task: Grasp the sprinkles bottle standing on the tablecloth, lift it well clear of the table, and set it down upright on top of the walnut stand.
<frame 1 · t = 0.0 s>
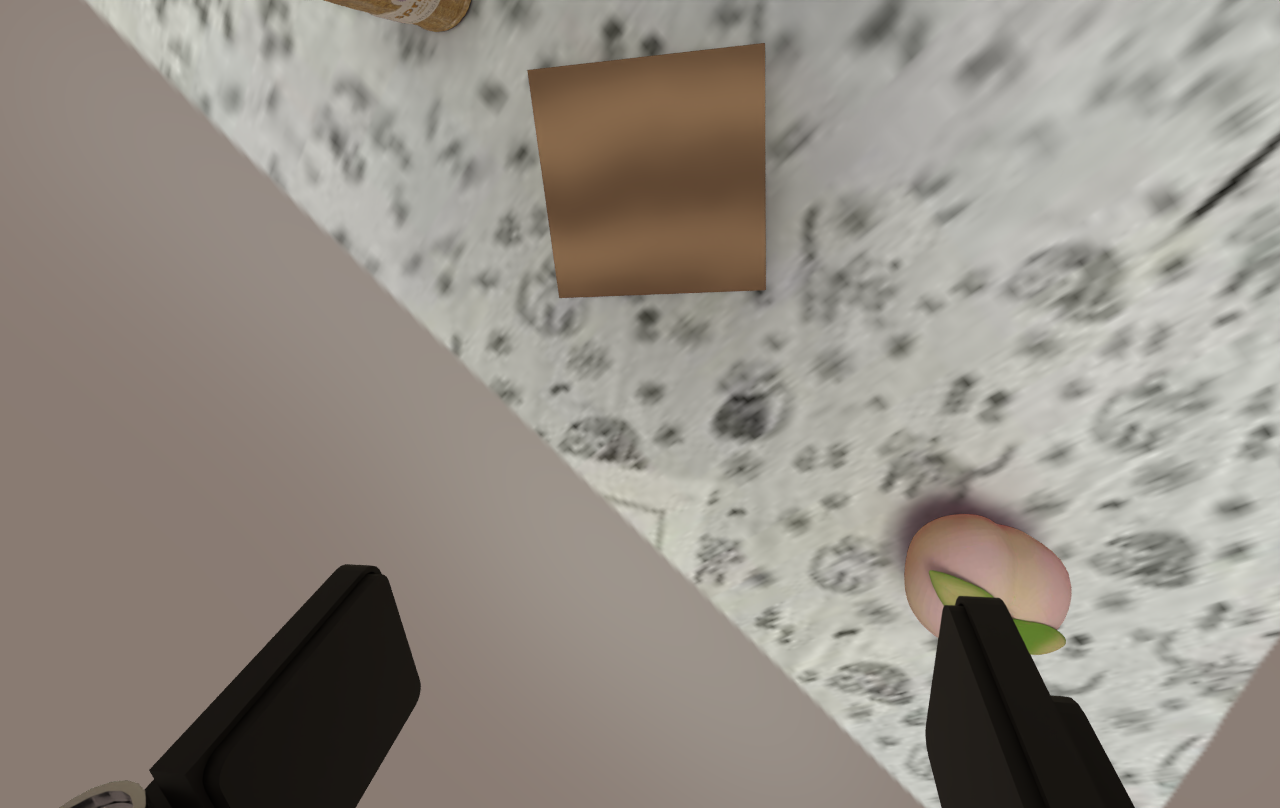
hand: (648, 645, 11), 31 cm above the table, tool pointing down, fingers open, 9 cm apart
decorative fruit: (956, 534, 44), on the table
walnut stand: (661, 177, 37), on the table
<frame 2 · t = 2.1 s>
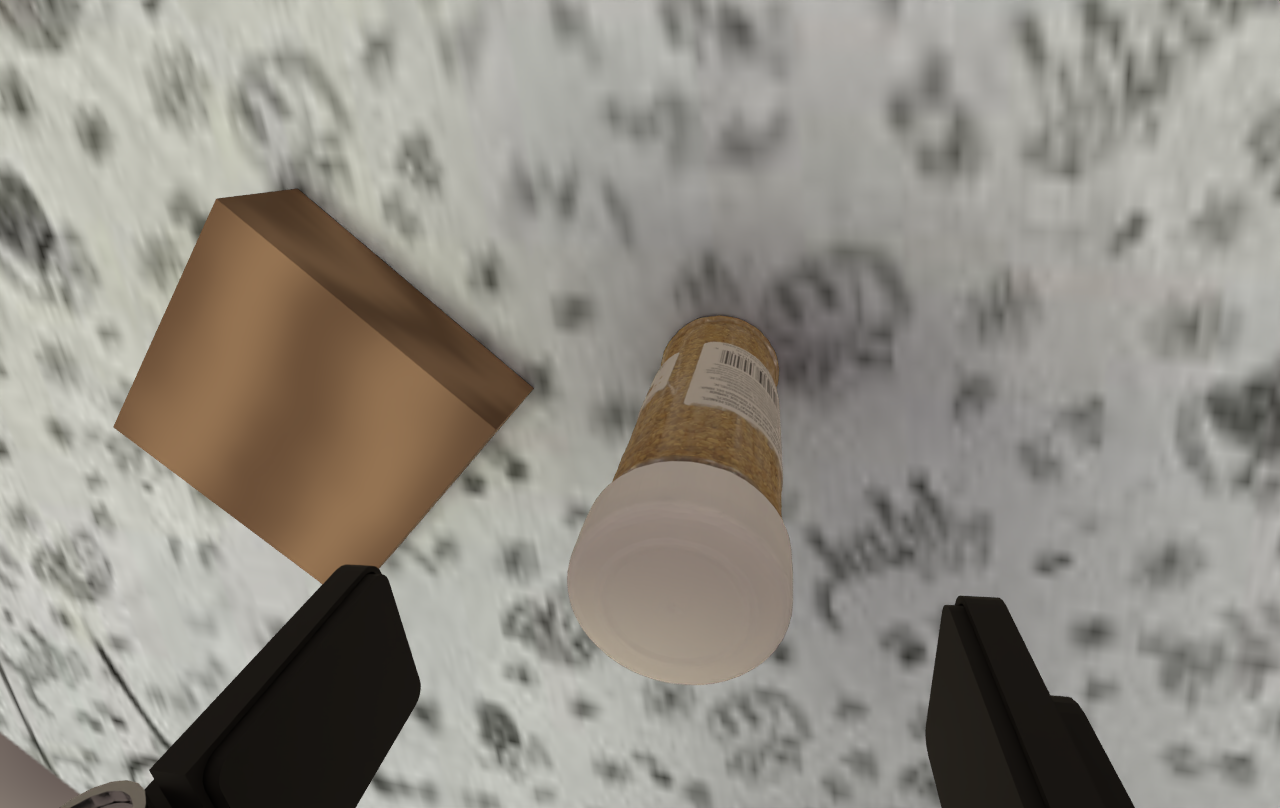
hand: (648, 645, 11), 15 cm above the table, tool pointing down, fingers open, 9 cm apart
walnut stand: (353, 389, 28), on the table
sprinkles bottle: (721, 368, 24), on the table
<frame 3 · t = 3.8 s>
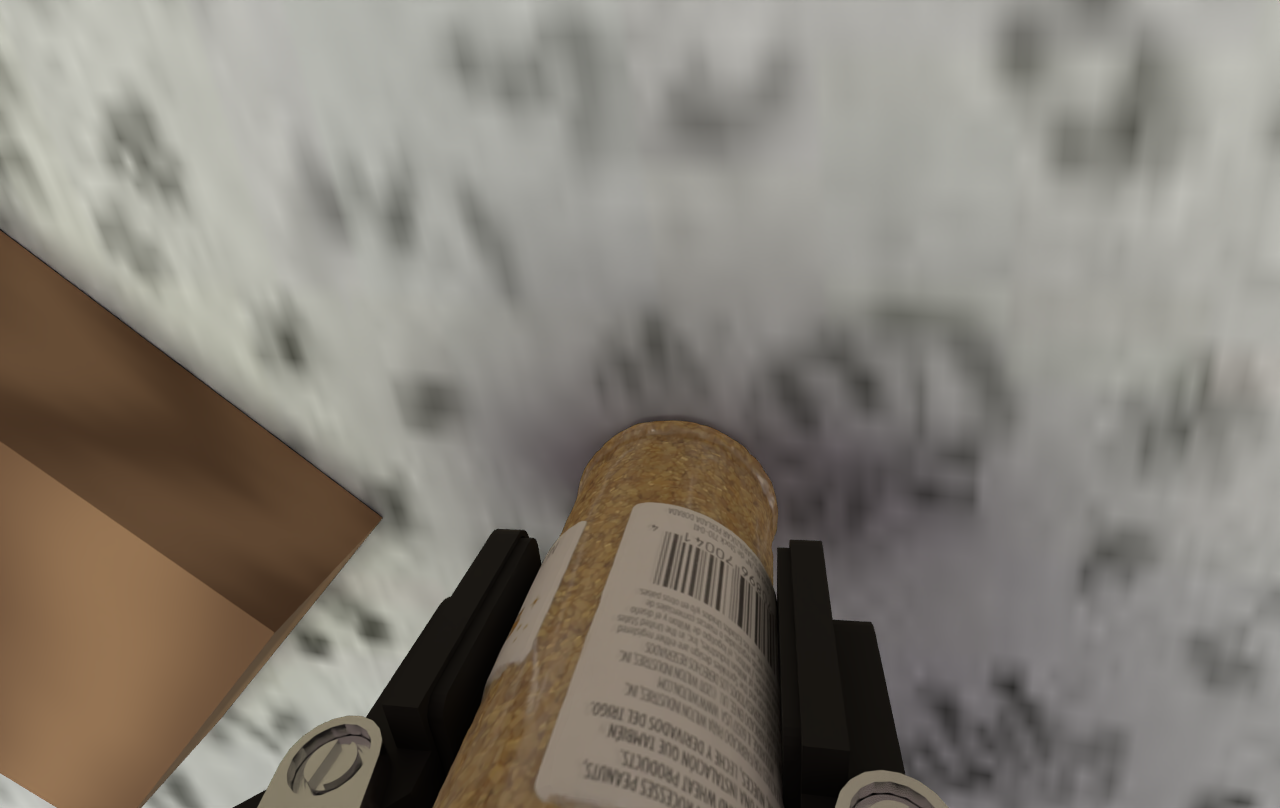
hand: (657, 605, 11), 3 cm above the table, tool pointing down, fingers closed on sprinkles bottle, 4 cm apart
walnut stand: (114, 508, 18), on the table
sprinkles bottle: (681, 497, 15), on the table, touching gripper
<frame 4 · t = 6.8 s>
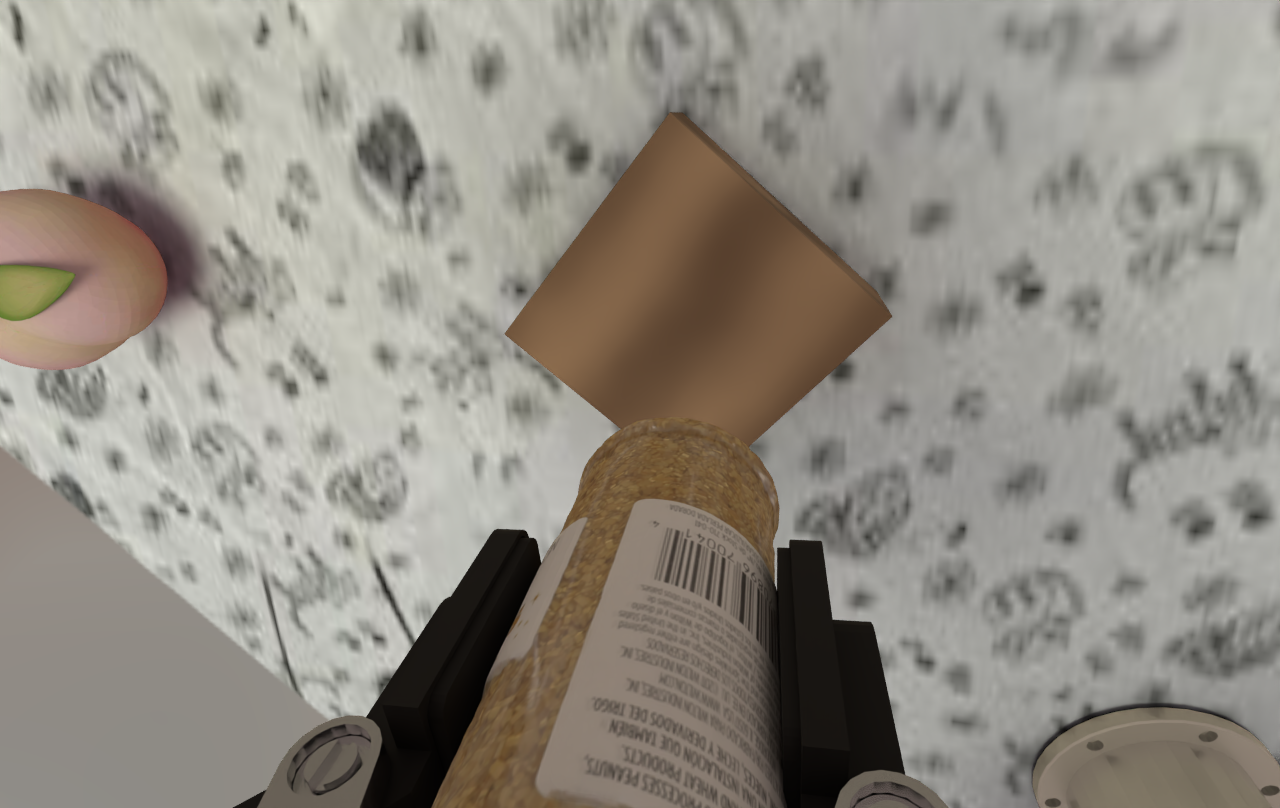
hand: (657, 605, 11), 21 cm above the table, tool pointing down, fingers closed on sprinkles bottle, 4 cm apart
decorative fruit: (147, 256, 36), on the table
walnut stand: (695, 301, 31), on the table
sprinkles bottle: (682, 494, 15), point 18 cm above the table, touching gripper
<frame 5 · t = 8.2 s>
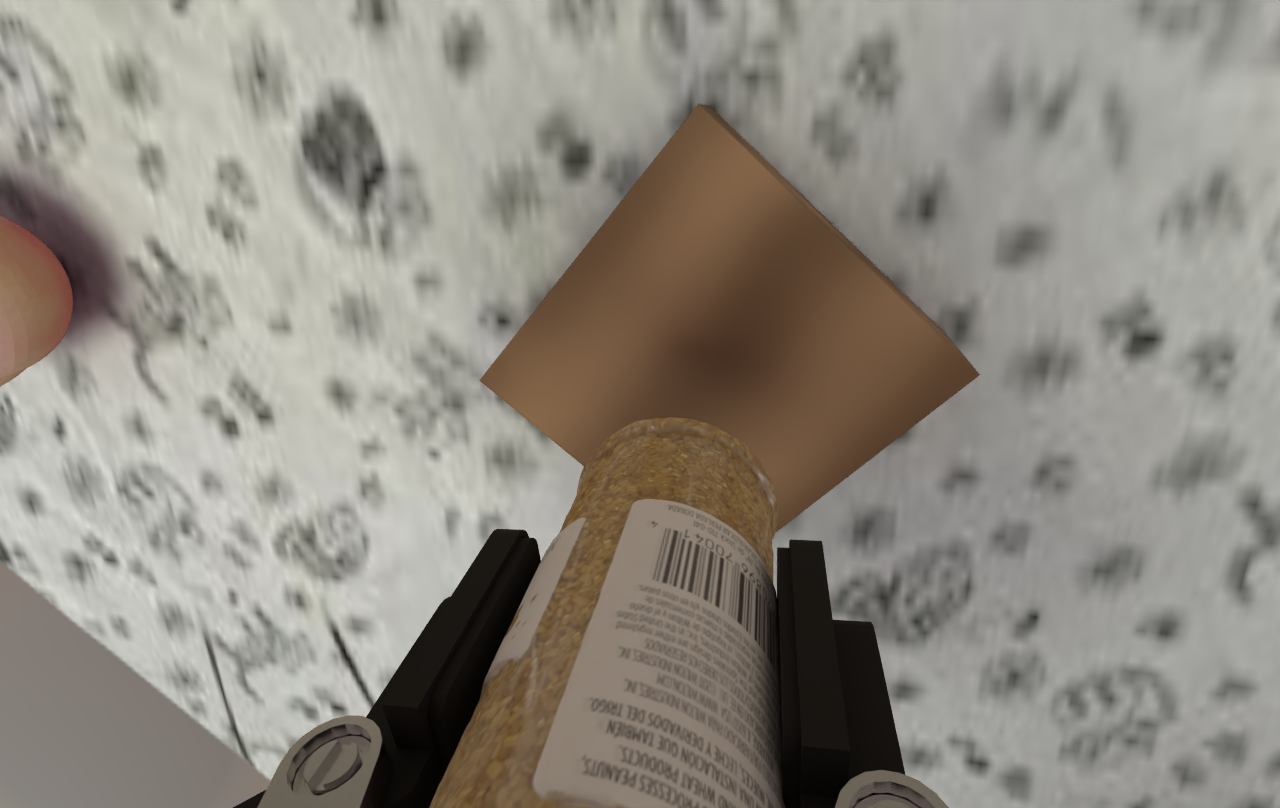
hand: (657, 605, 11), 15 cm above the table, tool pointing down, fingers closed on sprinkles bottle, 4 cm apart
decorative fruit: (54, 268, 30), on the table
walnut stand: (718, 340, 25), on the table
sprinkles bottle: (680, 495, 15), point 12 cm above the table, touching gripper
when the fingers open (9 cm above the table, at t = 9.7 s): sprinkles bottle drops 1 cm, resting on walnut stand.
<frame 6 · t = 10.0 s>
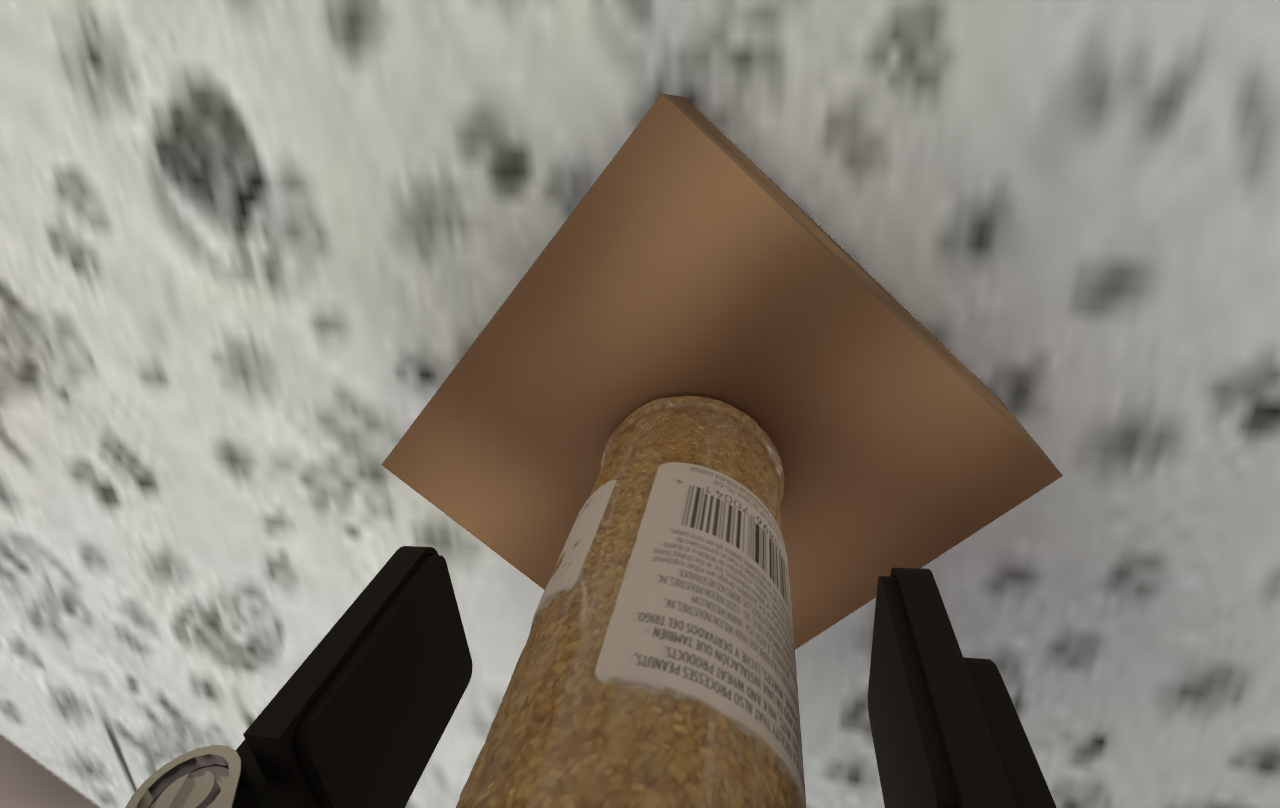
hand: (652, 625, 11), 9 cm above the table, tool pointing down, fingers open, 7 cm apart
walnut stand: (700, 403, 19), on the table
sprinkles bottle: (694, 468, 16), point 4 cm above the table, touching walnut stand
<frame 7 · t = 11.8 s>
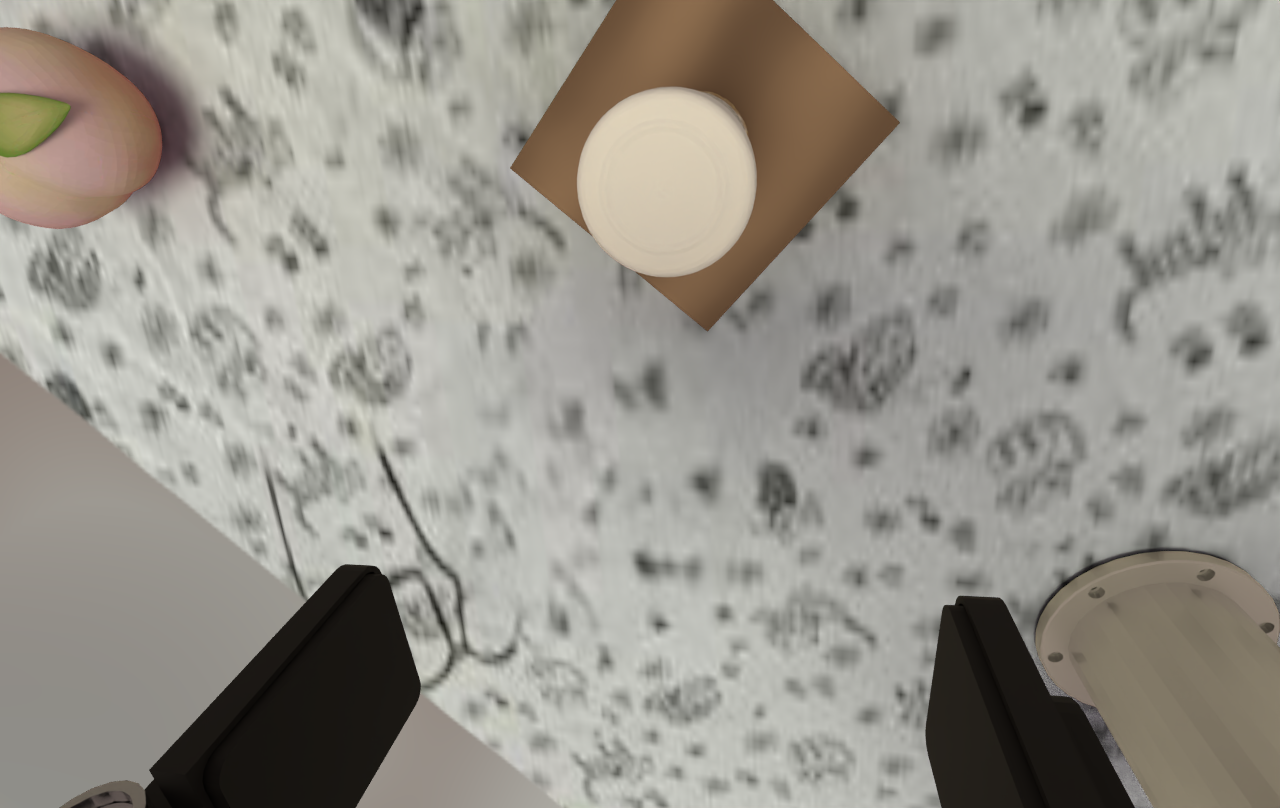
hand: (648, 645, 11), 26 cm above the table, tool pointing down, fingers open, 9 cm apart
decorative fruit: (138, 124, 35), on the table
walnut stand: (699, 141, 31), on the table
sprinkles bottle: (698, 147, 27), point 4 cm above the table, touching walnut stand
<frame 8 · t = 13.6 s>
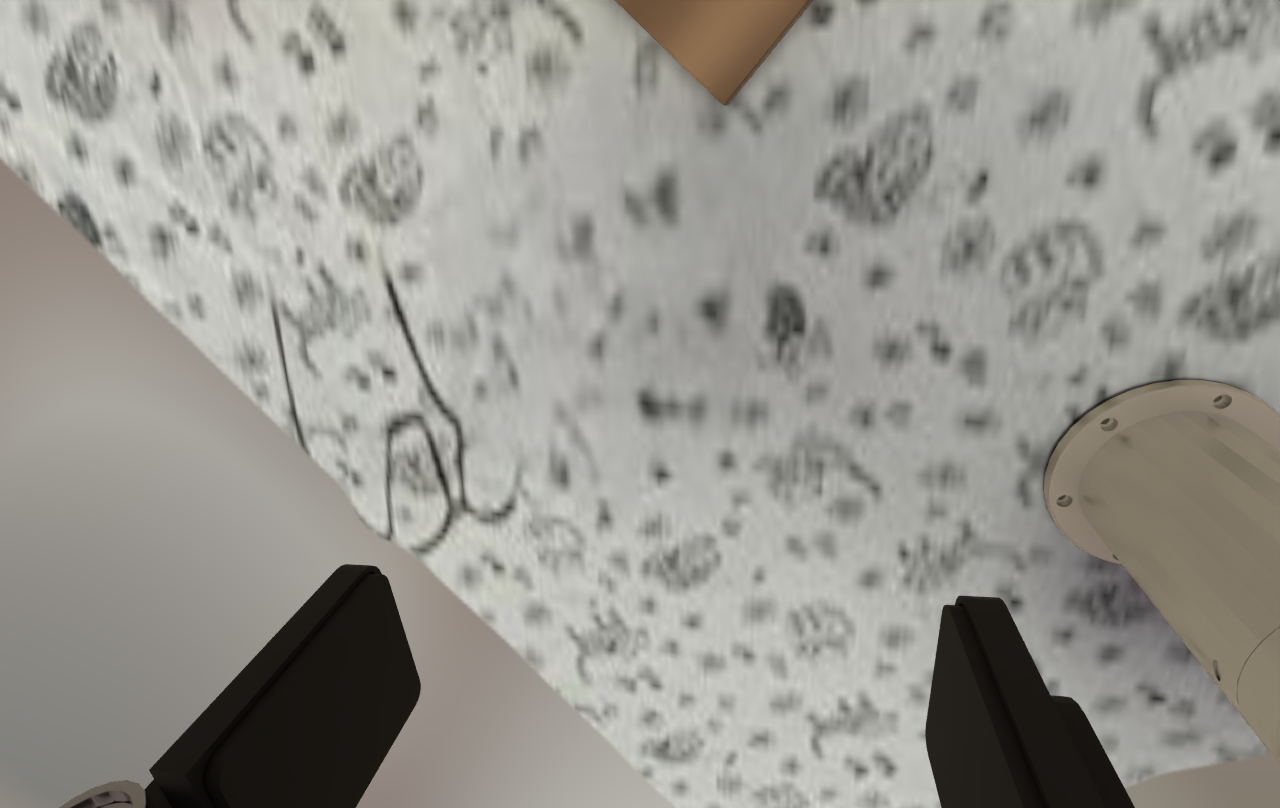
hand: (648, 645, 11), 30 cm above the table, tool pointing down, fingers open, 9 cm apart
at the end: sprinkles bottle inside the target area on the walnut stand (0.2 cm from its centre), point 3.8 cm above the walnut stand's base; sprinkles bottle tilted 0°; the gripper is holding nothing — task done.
